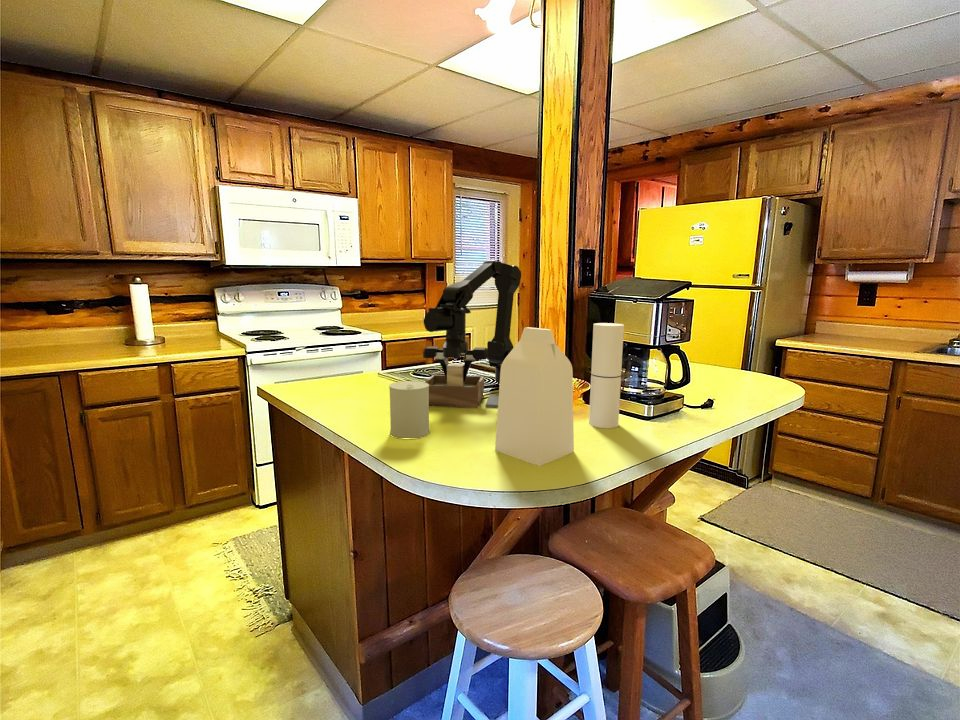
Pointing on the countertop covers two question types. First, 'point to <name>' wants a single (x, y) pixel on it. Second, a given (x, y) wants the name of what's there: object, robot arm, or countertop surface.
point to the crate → (455, 392)
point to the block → (455, 374)
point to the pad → (492, 401)
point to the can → (409, 409)
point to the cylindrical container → (606, 374)
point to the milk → (535, 400)
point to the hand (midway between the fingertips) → (455, 381)
